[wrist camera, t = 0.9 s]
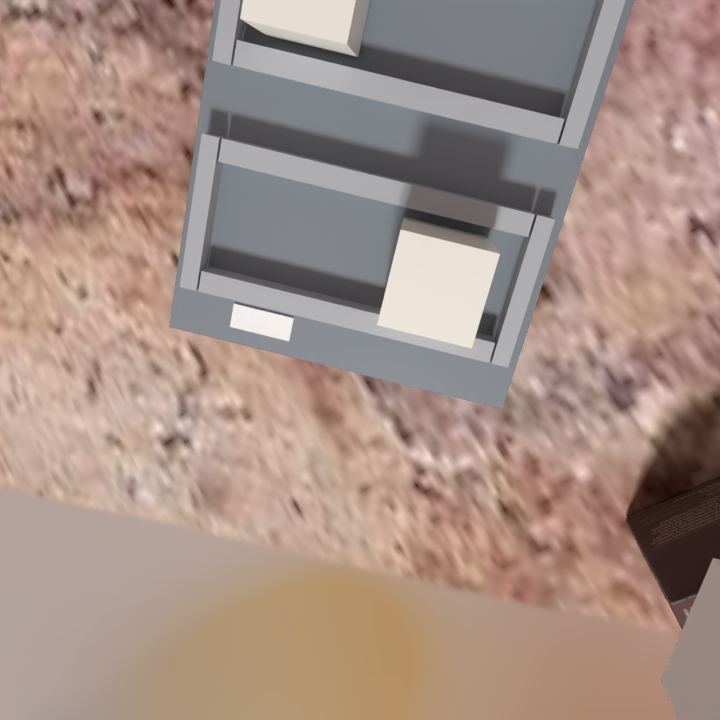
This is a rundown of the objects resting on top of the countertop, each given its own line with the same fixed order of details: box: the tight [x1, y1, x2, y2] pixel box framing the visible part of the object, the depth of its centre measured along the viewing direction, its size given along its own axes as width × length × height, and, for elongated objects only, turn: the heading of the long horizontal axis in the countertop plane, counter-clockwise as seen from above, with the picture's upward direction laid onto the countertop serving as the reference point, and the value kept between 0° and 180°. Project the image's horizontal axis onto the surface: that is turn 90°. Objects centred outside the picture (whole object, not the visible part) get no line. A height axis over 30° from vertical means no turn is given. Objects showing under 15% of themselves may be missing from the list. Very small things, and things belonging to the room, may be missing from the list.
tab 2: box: [377, 217, 500, 348], centre depth 29 cm, size 4×4×4 cm
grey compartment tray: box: [169, 0, 634, 409], centre depth 30 cm, size 22×17×3 cm
